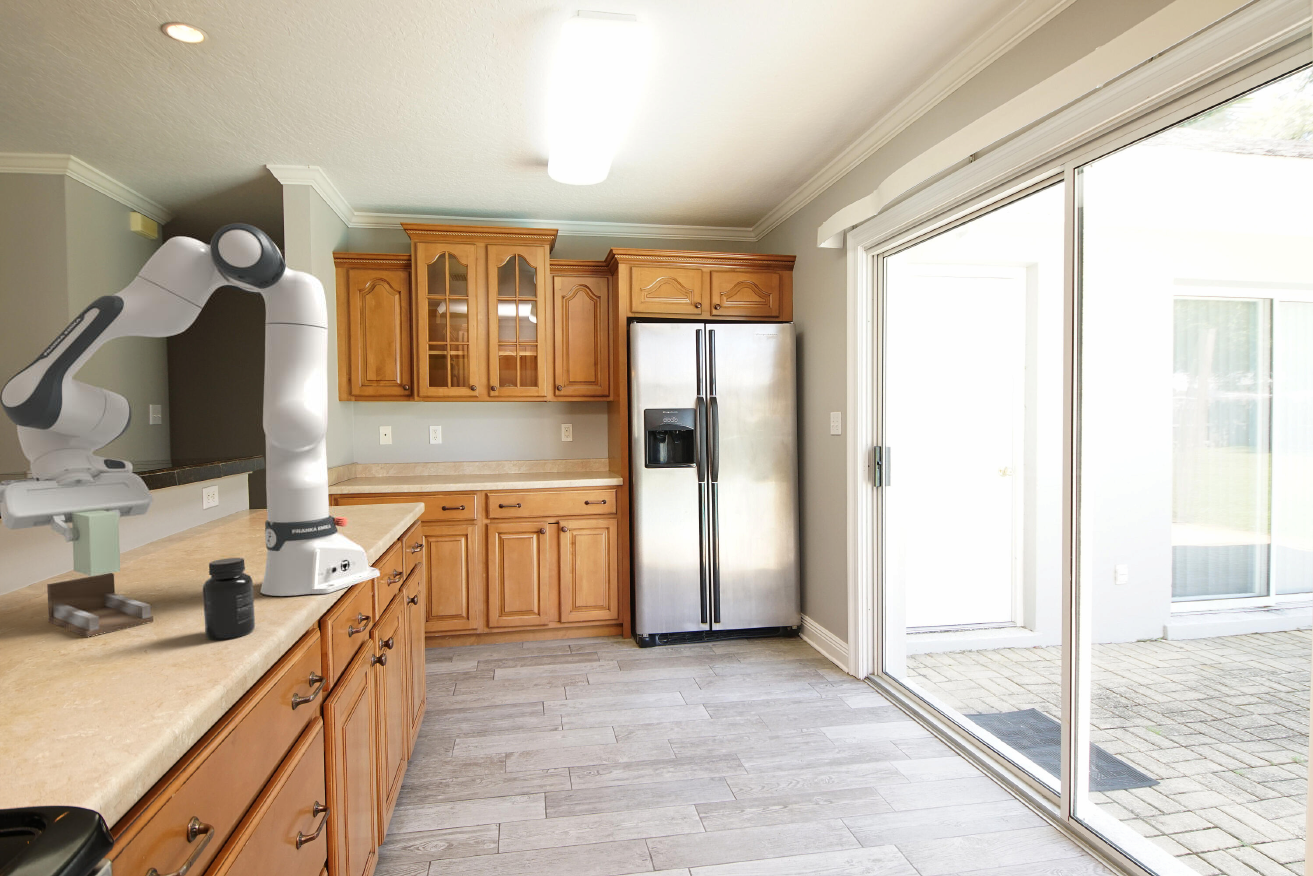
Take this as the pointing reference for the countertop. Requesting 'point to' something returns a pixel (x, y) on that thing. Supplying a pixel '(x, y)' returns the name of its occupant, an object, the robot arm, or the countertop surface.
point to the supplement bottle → (228, 600)
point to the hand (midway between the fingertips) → (93, 536)
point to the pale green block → (96, 542)
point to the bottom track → (94, 606)
